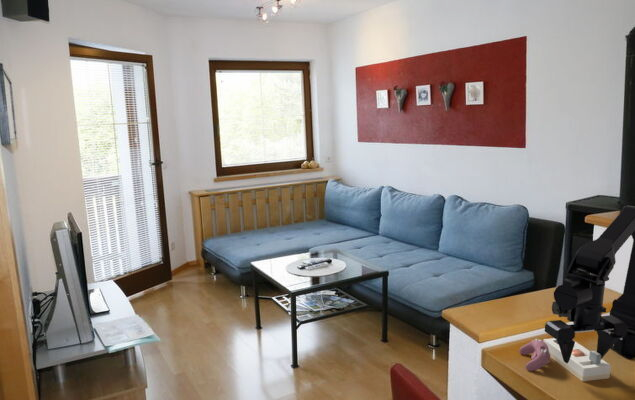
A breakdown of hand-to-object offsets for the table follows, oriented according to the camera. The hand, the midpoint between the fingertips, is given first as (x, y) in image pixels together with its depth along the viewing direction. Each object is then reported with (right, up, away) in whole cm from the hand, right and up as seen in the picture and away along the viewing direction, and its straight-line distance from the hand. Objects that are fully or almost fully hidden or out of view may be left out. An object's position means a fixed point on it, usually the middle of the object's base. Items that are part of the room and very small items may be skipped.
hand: (582, 360), depth 123 cm
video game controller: (-9, -3, +8) cm, 12 cm away
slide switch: (+3, -3, +1) cm, 4 cm away
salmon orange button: (+2, -2, +6) cm, 6 cm away
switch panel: (+2, -3, +7) cm, 8 cm away
